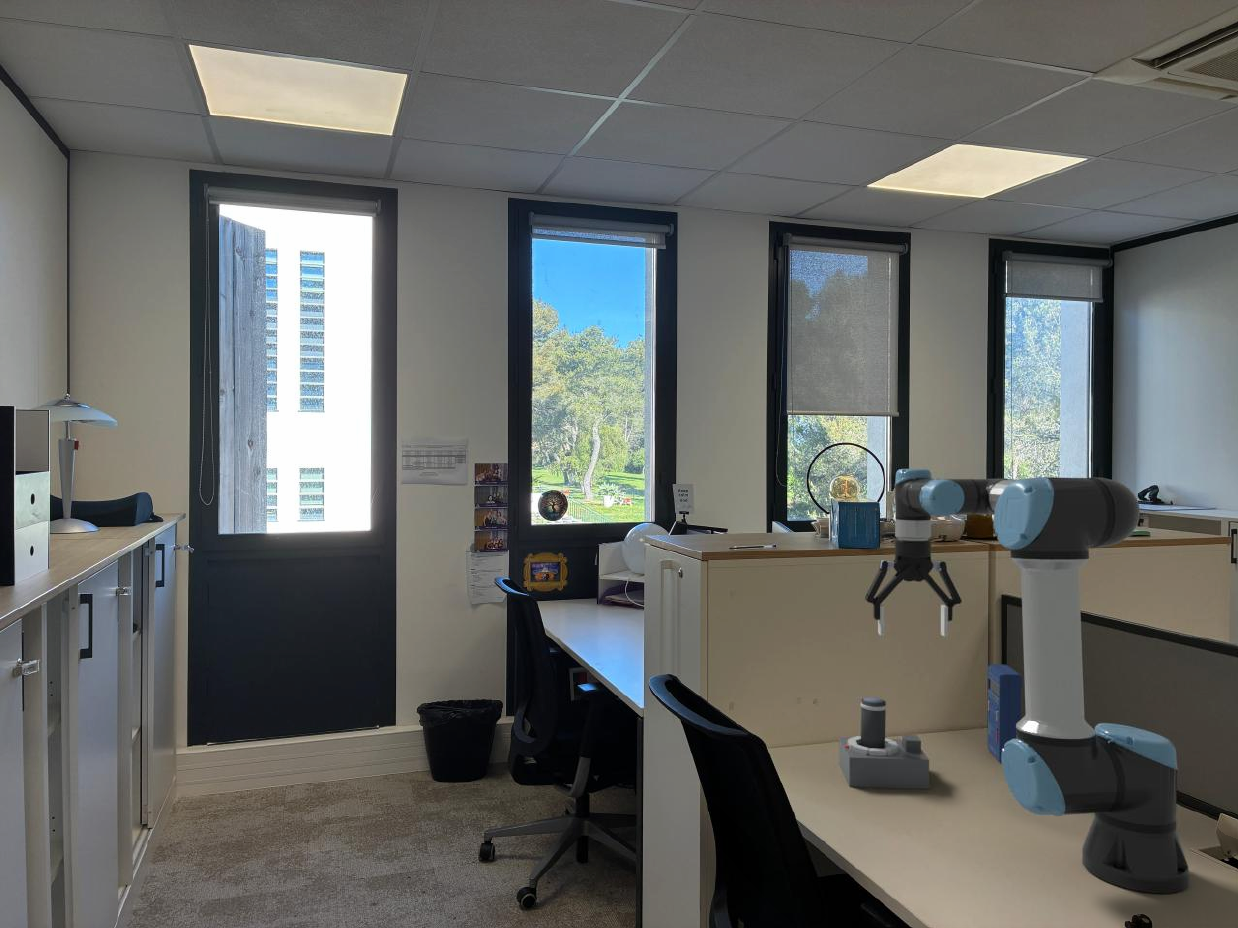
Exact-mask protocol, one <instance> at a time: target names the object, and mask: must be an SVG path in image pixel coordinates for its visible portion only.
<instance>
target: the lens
mask: <svg viewBox="0 0 1238 928" xmlns="http://www.w3.org/2000/svg"><path fill="white" fill-rule="evenodd" d="M860 709H861V710H860V736H861V746H863V747H867V748H878V749H883V748H885V738H886V711H887V702H886V700H884V699H882V698H877V697H864V698H861V699H860Z"/></svg>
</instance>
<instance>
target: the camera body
mask: <svg viewBox="0 0 1238 928" xmlns="http://www.w3.org/2000/svg"><path fill="white" fill-rule="evenodd" d="M838 749H839V750H838V765H839V767H840V770H841V772H842V774H843V775H844V778H845V780H846V782H847V784H848V786H849V787H857V788H865V787H866V788H885V789H887V788H889V789H890V788H891V789H917V790H918V789H920V790H921V789H922V790H929V789H930V759H929V758H928V755H926V753H924V751H923V750H922V740H921V739H920V737H919V736H918V735H917V734H902V735H901V738H886V737H885V748H883V749H878V748H867V747H863V746H861V735H856V736H853V737H842V736H841V737H839V739H838Z"/></svg>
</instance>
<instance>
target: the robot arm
mask: <svg viewBox="0 0 1238 928" xmlns="http://www.w3.org/2000/svg"><path fill="white" fill-rule="evenodd" d="M894 495H895V496H894V502H895V503H894V506H895V509H894V510H895V512H894V513H895V519H894V520H895V523H894V524H895V527H894V529H895V530H894V534H895V535H894V536H895V537H896V539H895V541H894V560H893V561H891V560H890V561H889V560H885V559H881V560H880V561H879V567H878V568H879V569H878V571H877V573H876V575H875V577H874V579H873V581H872V583H871V585H870V587H869V588H868V590H867V592H866V595H865V596H864V599H865V601H866V602H868V603H870V604H873V605H872V606H873V613H872V614H873V619H874V620H876V621H877V626H878V627H877V633H878V635H879V636H883V637H884V636H885V605H883V602H884V601H885V600H886V599H887V597H888V596H889V595H890V594H891V593H892V592H893V591H894V590H895V588H896V587H898V585H899V584H900V583H902V581H904V582H922V581H925V582H926V583H927V585H928V586H930V588H931V590H933V592H934V593H935V594H936V595H937V596H938V597H939V598H940V600H941V601H942V602H943V603H944V604H941V605H940V635H941V636H943V637H944V638H948V637H949V627H948V626H949V622H952V620H953V611H954V610H953V607H954V606H955V605H958V604H959V605H960V604H962V600H963V599H961V597H960V595H959V592H958V591H957V589H956V587H955V584H954V583H953V580H952V579H951V577H950V575H949V573H948V569H947V562H945V561H944V560H941V559H940V560H938V561H932V541H931V539H930V538H931V537H932V515H933V516H935V517H948V516H949V517H950V516H957V515H958V516H961V515H963V516H966V515H968V516H969V515H987V516H988V515H990V516H991V515H992V516H993V526H994V527H993V528H994V533H995V535H996V536H997V540H998V542H999V543H1000V544H1001V546H1002V547H1004V548H1006V549H1008V550H1010V560H1011V561H1012V562H1013V563H1014V564H1015V565H1016V566H1017V567H1018V568H1019V569H1020V577H1021V579H1020V580H1021V581H1020V582H1021V583H1020V584H1021V608H1022V609H1021V610H1022V611H1021V613H1022V616H1021V617H1022V638H1023V639H1022V642H1023V643H1022V644H1023V664H1024V665H1023V670H1024V701H1025V706H1024V707H1025V715H1024V716H1023V717H1021V720H1020V721H1019V722H1018V723H1017V724H1016V739H1012V740H1010V741H1008V742H1006V743H1005V745H1004V748H1003V750H1002V756H1001V760H1002V763H1001V767H1002V771H1003V776H1004V779H1005V782H1006V784H1007V786H1008V788H1009V790H1010V792H1011V794H1012V796H1013V797H1014V799H1015V800H1016V801H1017V803H1019V805H1020V806H1021V807H1022V808H1023V809H1024V810H1026V811H1027V812H1029V813H1031V814H1033V815H1037V816H1045V815H1046V816H1054V817H1062V816H1064V815H1080V814H1081V815H1082V814H1094V816H1093V819H1092V821H1091V825H1090V827H1089V830H1088V833H1087V836H1086V837H1085V840H1084V843H1083V845H1082V851H1081V854H1082V855H1081V856H1082V857H1081V858H1082V859H1081V860H1082V861H1081V862H1082V865H1083V866H1084V868H1085V869H1086V870H1087V871H1088V872H1089V873H1091V874H1092V875H1094V876H1095V877H1097V878H1099V879H1101V880H1103V881H1105V882H1107V883H1109V884H1112V885H1114V886H1118V887H1121V888H1124V889H1129V890H1132V891H1137V892H1143V893H1149V894H1151V893H1152V894H1171V893H1172V894H1175V893H1180V892H1181V891H1184V890H1186V889H1187V888H1188V887H1189V885H1190V868H1189V865H1188V862H1187V859H1186V856H1185V852H1184V850H1183V847H1182V845H1181V841H1180V839H1179V836H1178V832H1177V796H1178V795H1177V794H1178V771H1179V766H1178V761H1177V749H1176V747H1175V745H1174V743H1173V742H1172V741H1171V740H1170V739H1167V737H1164V736H1162V735H1160V734H1157V733H1154V732H1152V731H1149V730H1145V729H1143V728H1142V729H1141V728H1138V727H1135V726H1131V725H1130V726H1129V725H1124V724H1118V723H1109V722H1102V723H1098V724H1096V725H1095V727H1094V728H1093V727H1092V726H1091V725H1090V724H1089V723H1088V722H1087V721H1086V719H1085V702H1084V701H1085V700H1084V699H1085V698H1084V697H1085V696H1084V674H1083V673H1084V672H1083V645H1082V619H1081V615H1082V614H1081V591H1080V570H1081V569H1082V568H1083V567H1084V566H1085V565H1086V564H1087V563H1088V562H1089V561H1090V552H1089V551H1090V548H1091V549H1093V548H1106V547H1110V546H1113V545H1114V546H1115V545H1117V544H1119V543H1122V542H1123V541H1125V540H1126V539H1128V537H1130V536H1131V535H1132V533H1133V532H1134V531H1135V530H1136V529H1137V526H1138V523H1139V520H1140V514H1141V510H1140V504H1139V501H1138V498H1137V497H1136V496H1135V494H1134V493H1133V492H1132V490H1131V489H1130V488H1129V487H1127V486H1126V485H1125V484H1122V483H1121V482H1119V481H1118V480H1117V481H1116V480H1114V479H1109V478H1105V477H1057V476H1056V477H1054V476H1053V477H1052V476H1051V477H1050V476H1048V477H1047V476H1038V477H1027V478H1025V477H1024V478H1020V479H1012V478H1007V477H1006V478H1005V477H1003V478H1002V477H1001V478H1000V477H999V478H978V479H977V478H932V472H931V471H930V469H927V468H901V469H898V470H897V471H896V472H895V482H894ZM929 539H930V540H929ZM891 568H893V569H894V570H895V574H894V575H893V576H892V578H891V579H890V580H889V582H888V583H887V584H886V585H885V586H884V587H883V588H882V589H881V590H880V592H879V593H878V591H879V589H880V587H881V585H882V583H883V581H884V580H885V577H886V575H887V573H888V572H890V570H891ZM933 568H934V570H936V571H937V572H938V573H939V575H940V577H941V580H942V581H943V584H944V586H945V587H946V590H947V591H948V593H949V596H950V598H949V596H948V595H947V594H946V593H945V591H944V590H943V589H942V588H941V587H940V586H939V585H938V583H937V582H936V581H935V580H934V578H933V577H932V576H931V575H930V574H929V573H931V571H932V570H933ZM877 593H878V594H877Z"/></svg>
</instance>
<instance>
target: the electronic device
mask: <svg viewBox="0 0 1238 928" xmlns="http://www.w3.org/2000/svg"><path fill="white" fill-rule="evenodd" d="M1022 689H1023V676H1022V675H1021V674H1020V673H1019V672H1017V671H1016V670H1014V669H1013V668H1012V667H1011V666H1009V665H1007V664H990V665H988V666H987V750H988V751H989V752H990V753H991V754H992V755H993V756H994V757H995V759H996V760H997V761H999V762H1000V763H1001V764H1002V760H1001V756H1002V750H1003V748H1004V745H1005V743H1006V742H1008V741H1010V740H1012V739H1016V724H1017V723H1018V722H1019V721H1020V720H1021V719H1022Z"/></svg>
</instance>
